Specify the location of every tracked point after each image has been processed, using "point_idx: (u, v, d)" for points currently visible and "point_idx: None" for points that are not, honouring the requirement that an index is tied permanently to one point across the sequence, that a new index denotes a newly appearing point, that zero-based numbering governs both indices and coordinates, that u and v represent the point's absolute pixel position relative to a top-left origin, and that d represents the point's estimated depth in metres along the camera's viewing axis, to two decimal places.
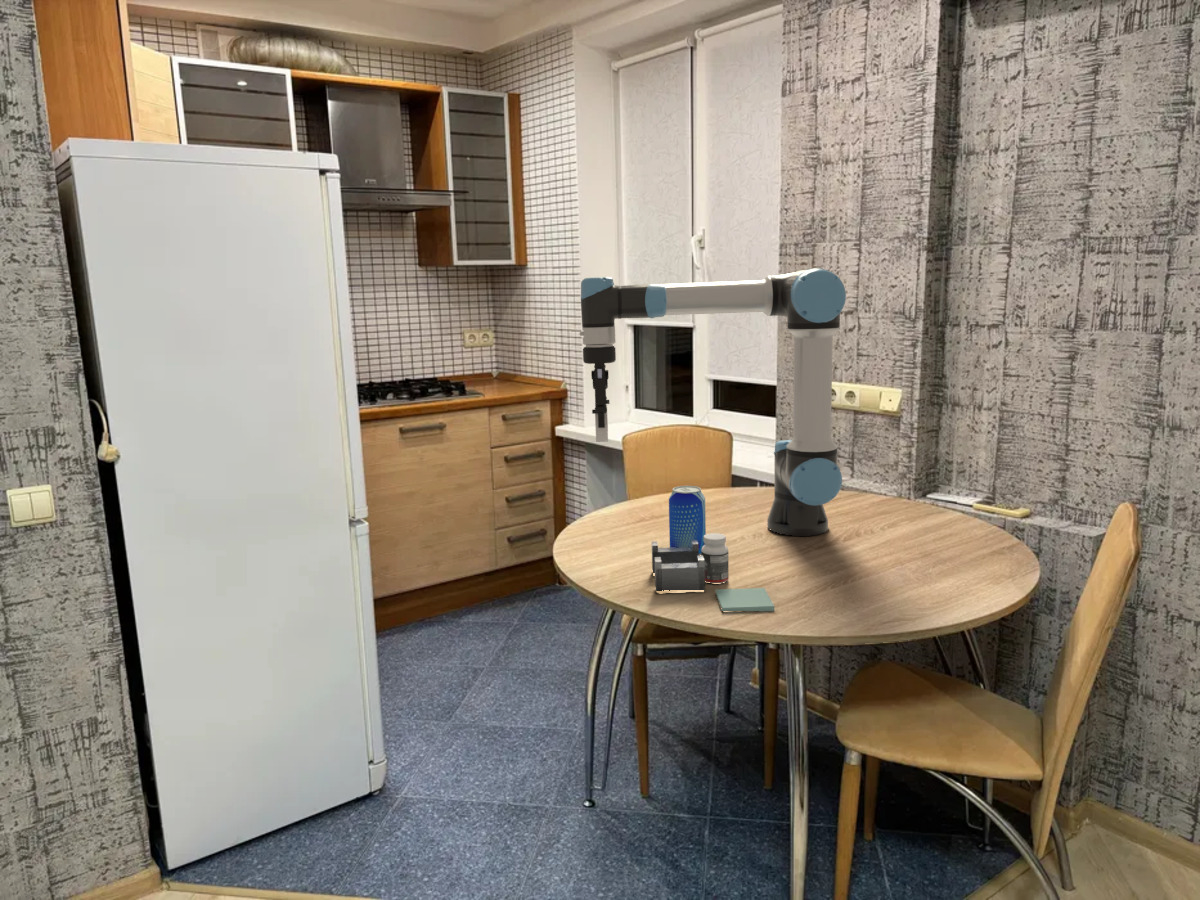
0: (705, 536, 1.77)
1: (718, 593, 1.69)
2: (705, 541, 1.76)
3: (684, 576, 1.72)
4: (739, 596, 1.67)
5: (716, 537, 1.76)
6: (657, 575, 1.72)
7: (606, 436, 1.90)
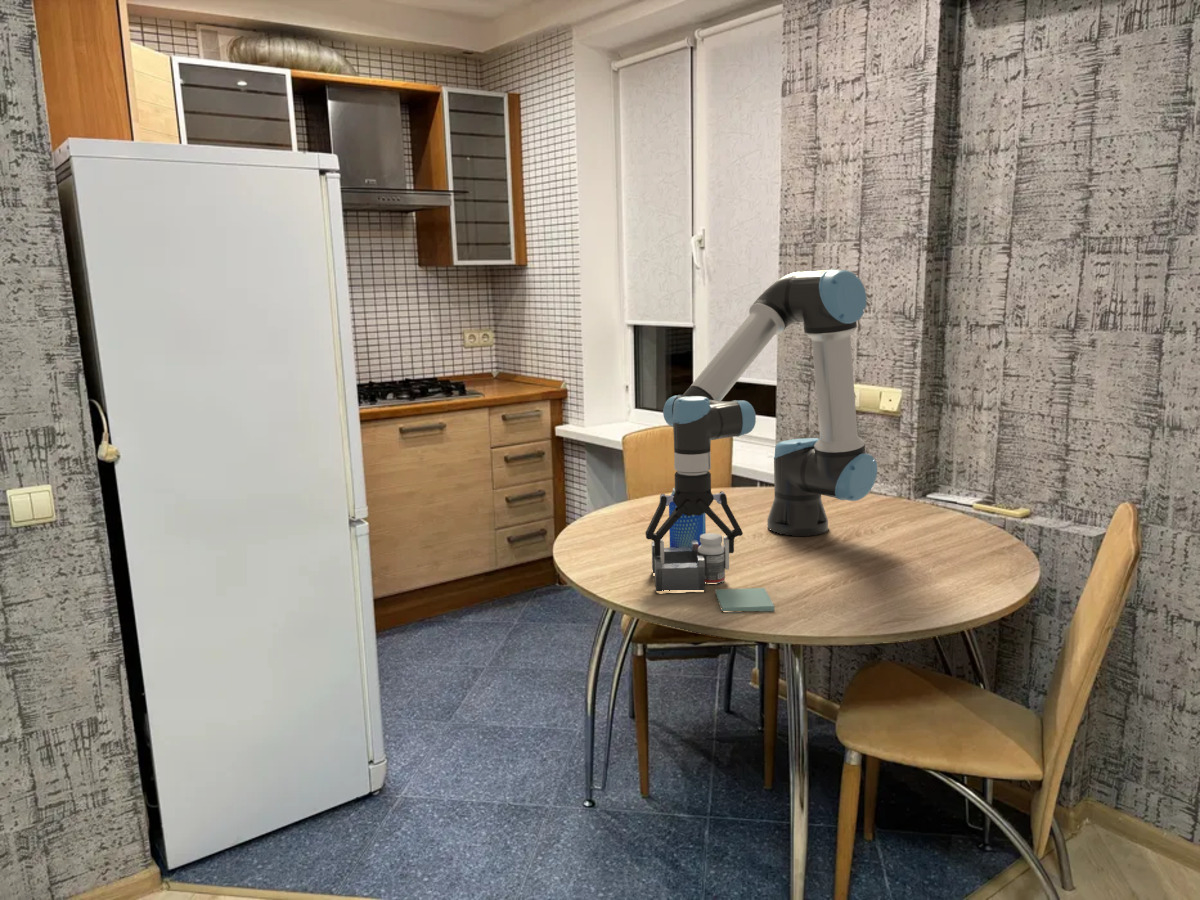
0: (701, 536, 1.77)
1: (718, 593, 1.69)
2: (701, 541, 1.76)
3: (684, 576, 1.72)
4: (739, 596, 1.67)
5: (712, 537, 1.76)
6: (657, 575, 1.72)
7: None
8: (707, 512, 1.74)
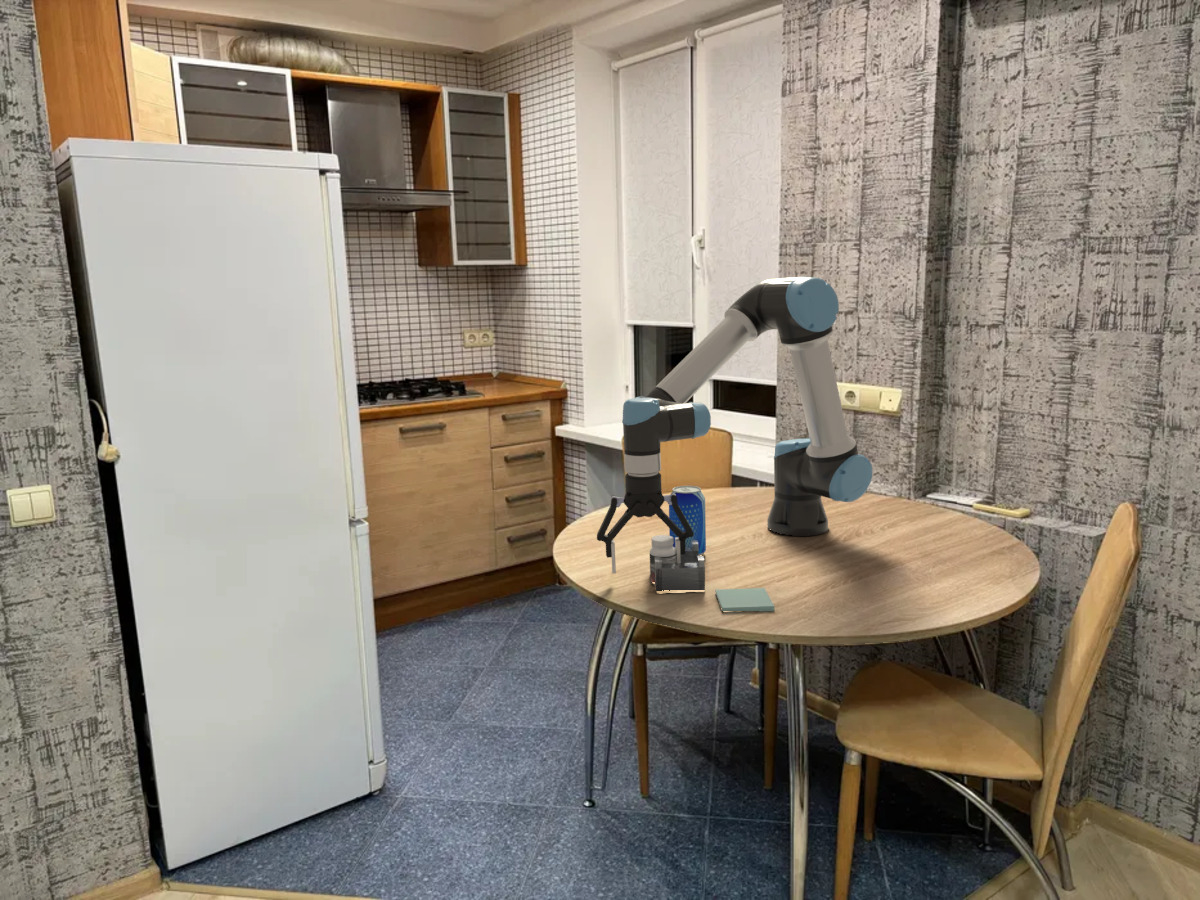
0: (653, 538, 1.77)
1: (718, 593, 1.69)
2: (653, 543, 1.76)
3: (684, 576, 1.72)
4: (739, 596, 1.67)
5: (664, 538, 1.76)
6: (657, 575, 1.72)
7: (612, 567, 1.77)
8: (658, 513, 1.74)
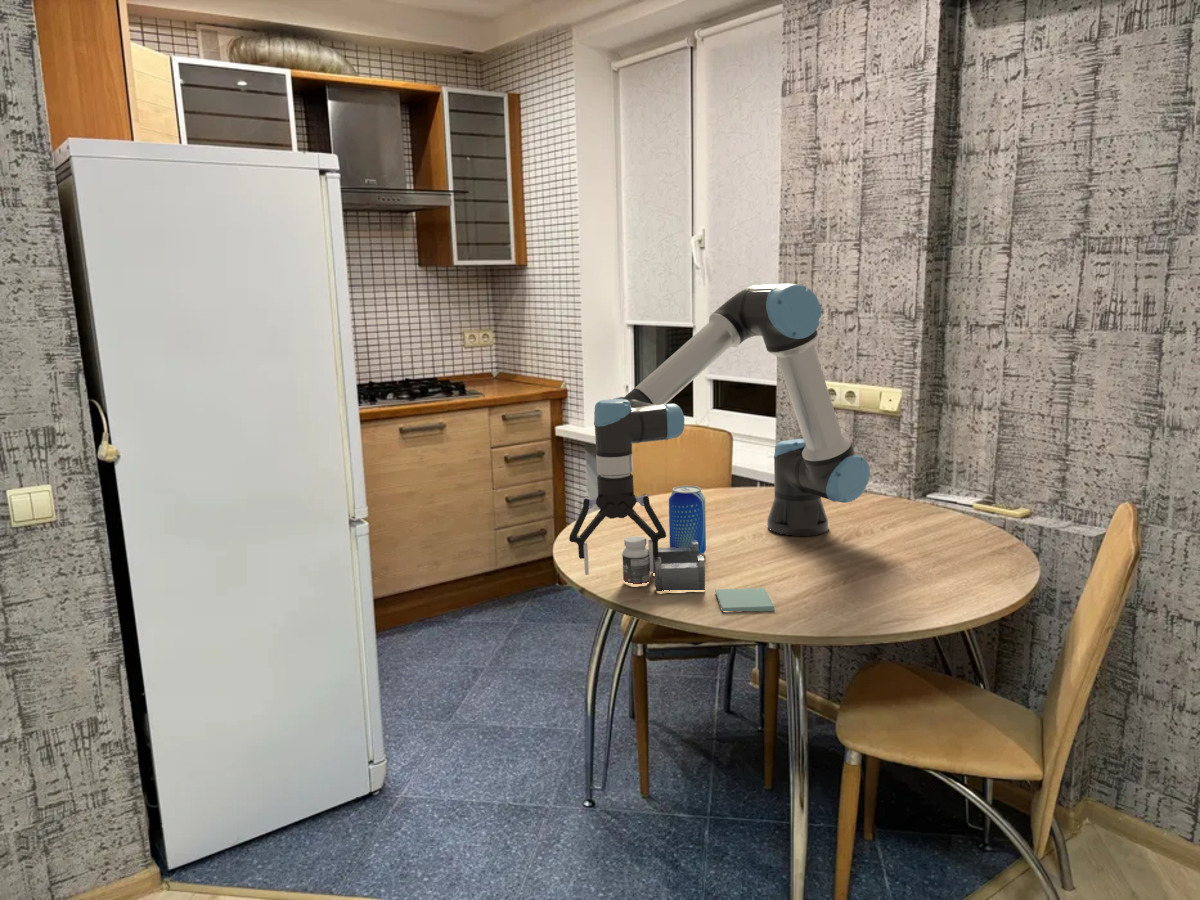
0: (626, 539, 1.77)
1: (718, 593, 1.69)
2: (625, 544, 1.76)
3: (684, 576, 1.72)
4: (739, 596, 1.67)
5: (637, 540, 1.76)
6: (657, 575, 1.72)
7: None
8: (630, 515, 1.74)
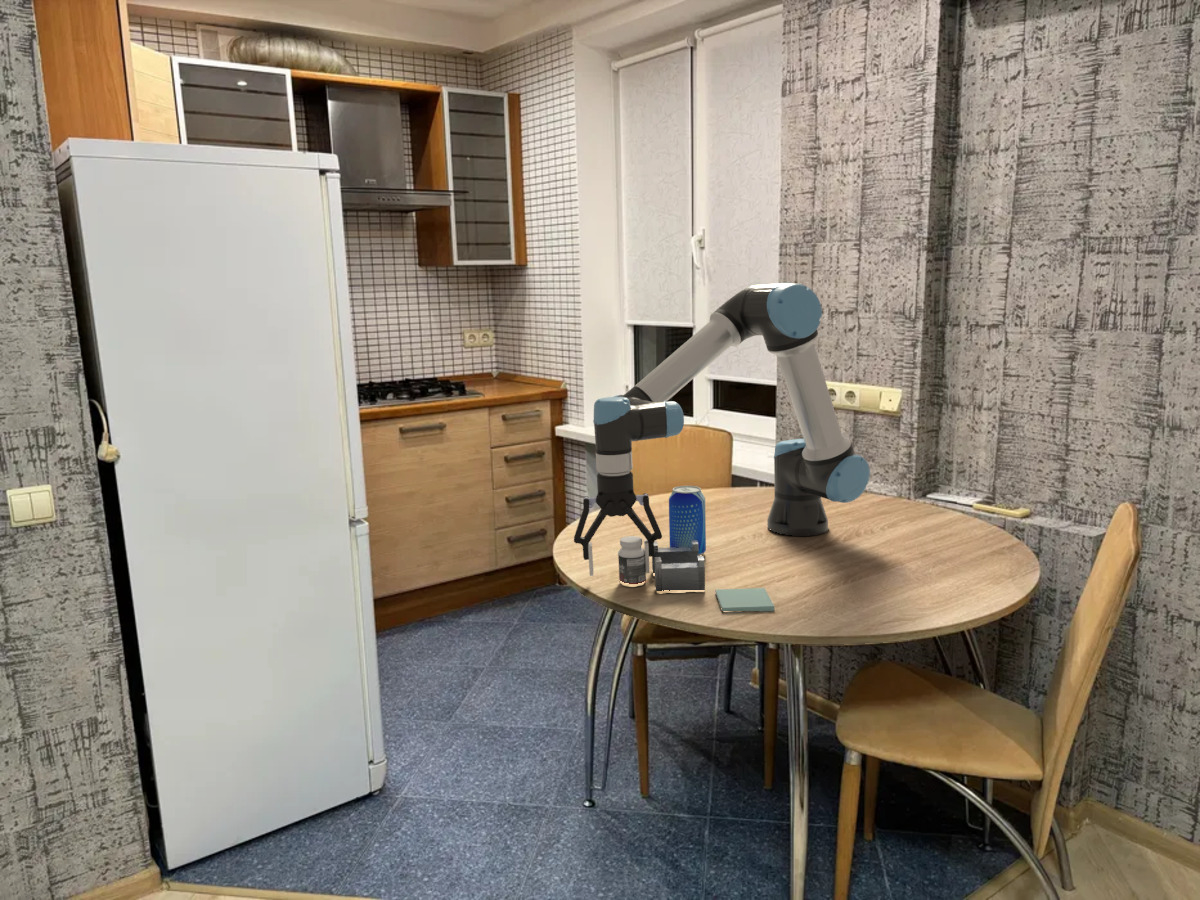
0: (621, 539, 1.77)
1: (718, 593, 1.69)
2: (621, 544, 1.76)
3: (684, 576, 1.72)
4: (739, 596, 1.67)
5: (632, 539, 1.76)
6: (657, 575, 1.72)
7: None
8: (628, 513, 1.74)
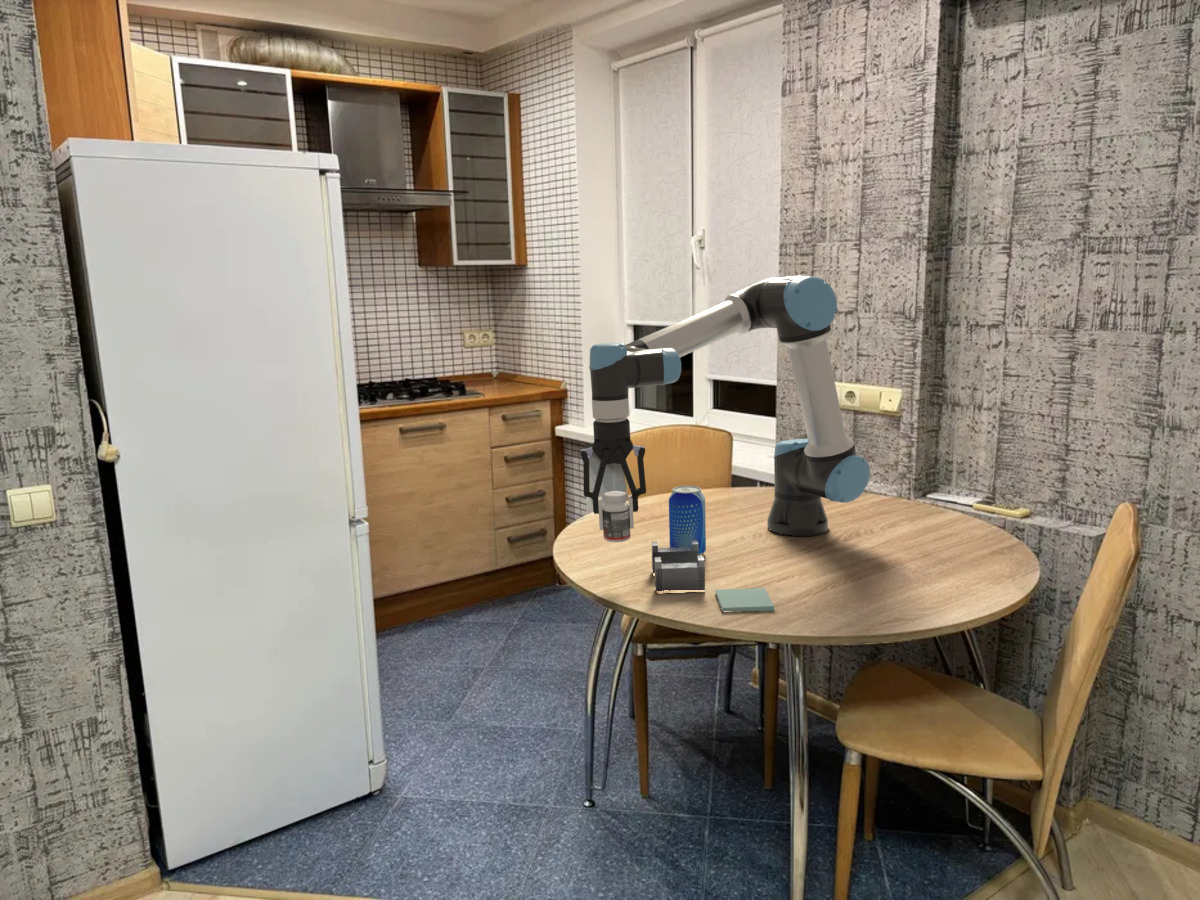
0: (605, 494, 1.75)
1: (718, 593, 1.69)
2: (605, 499, 1.74)
3: (684, 576, 1.72)
4: (739, 596, 1.67)
5: (616, 494, 1.75)
6: (657, 575, 1.72)
7: None
8: (622, 462, 1.73)
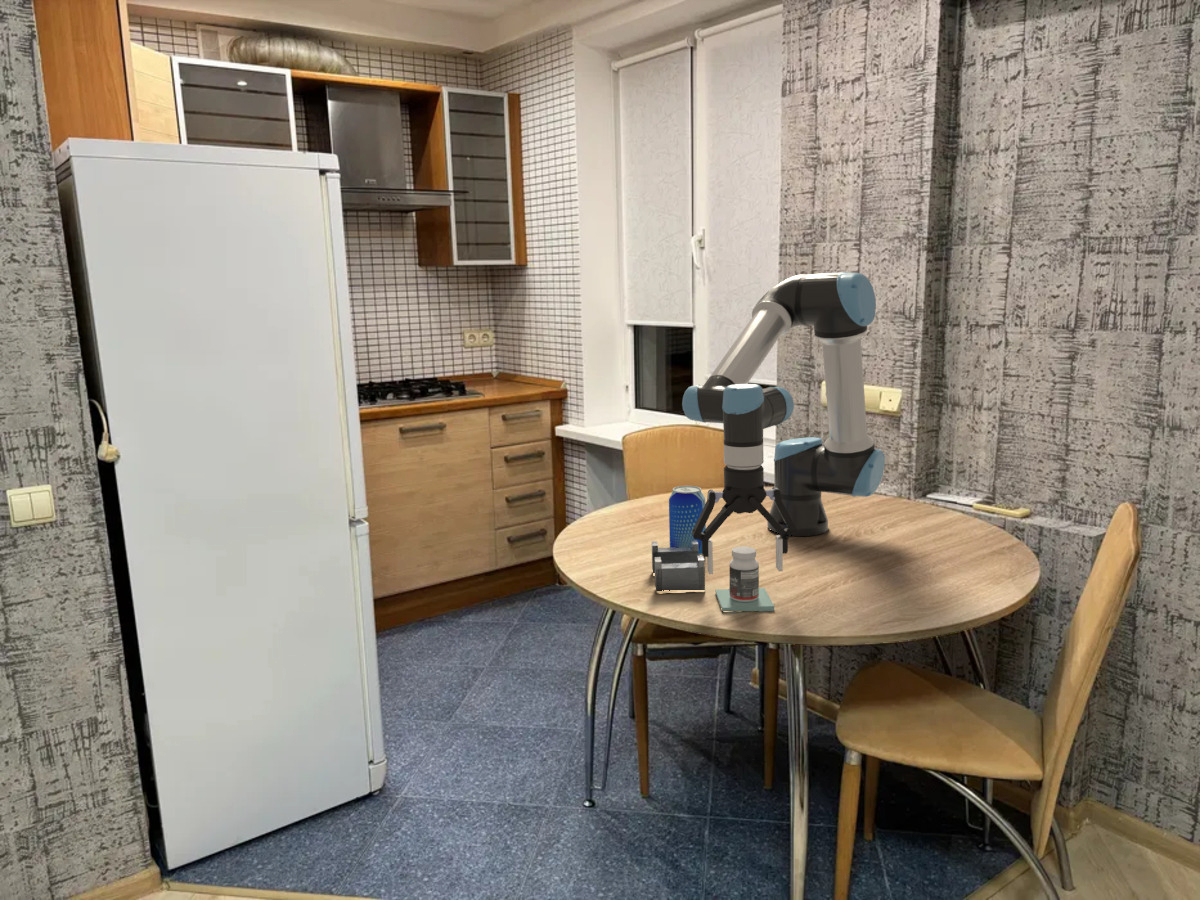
0: (734, 550, 1.64)
1: (718, 593, 1.69)
2: (734, 555, 1.63)
3: (684, 576, 1.72)
4: None
5: (746, 550, 1.63)
6: (657, 575, 1.72)
7: (708, 568, 1.64)
8: (759, 509, 1.61)
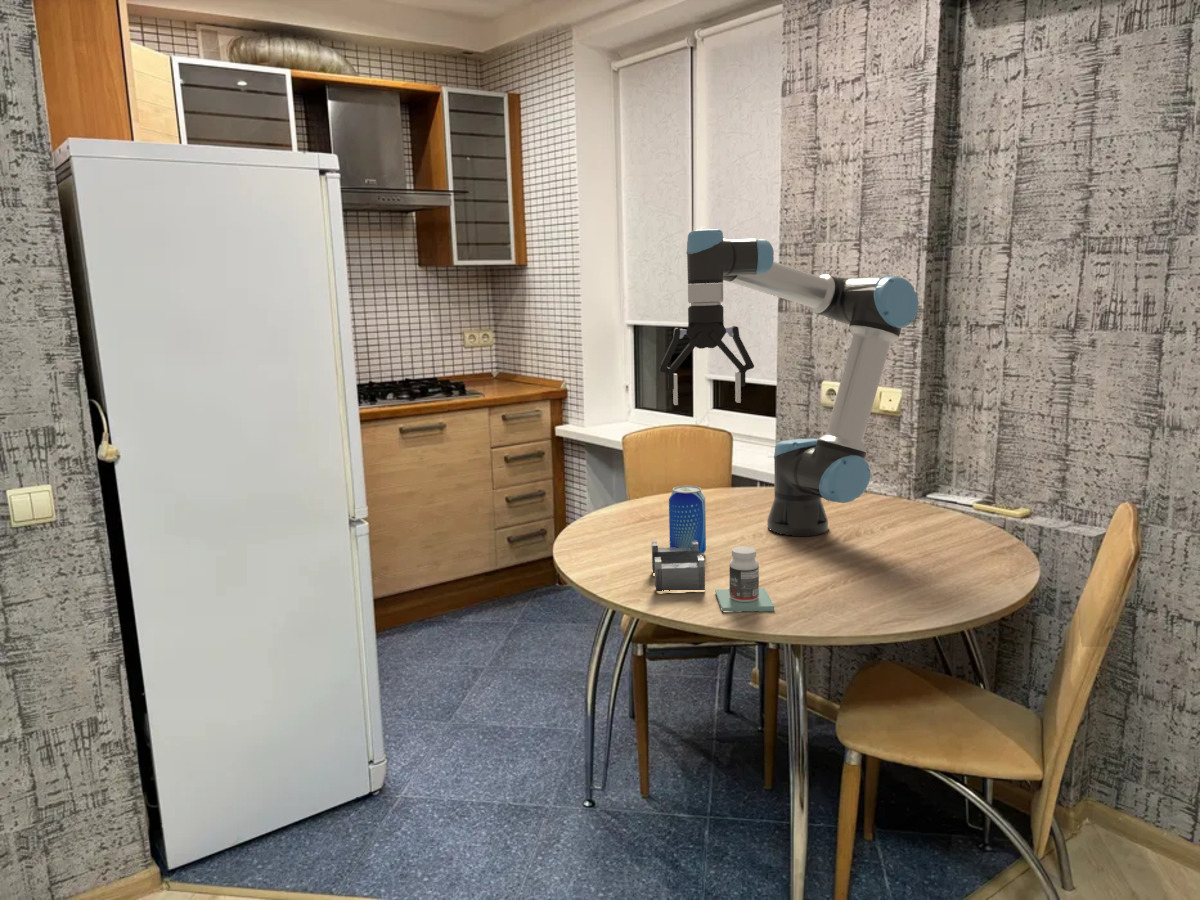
0: (734, 550, 1.64)
1: (718, 593, 1.69)
2: (734, 555, 1.63)
3: (684, 576, 1.72)
4: None
5: (746, 550, 1.63)
6: (657, 575, 1.72)
7: (674, 399, 1.82)
8: (720, 344, 1.79)
